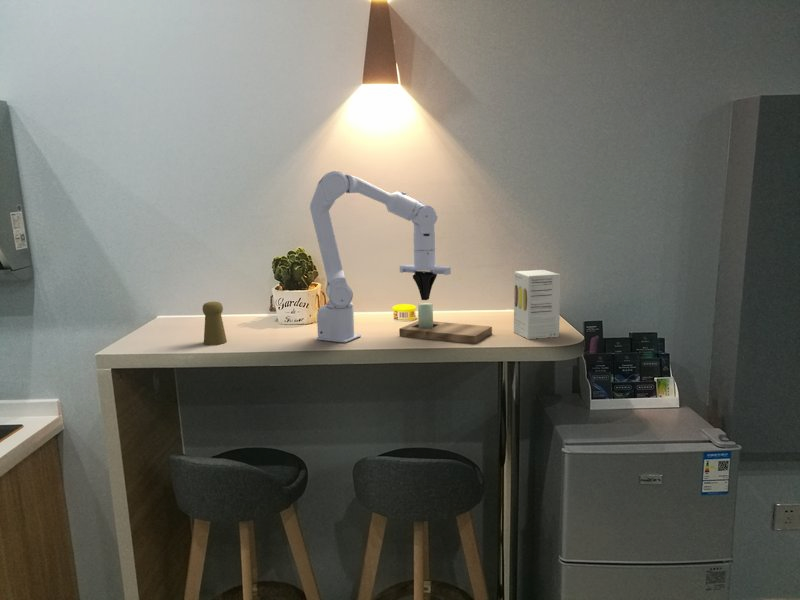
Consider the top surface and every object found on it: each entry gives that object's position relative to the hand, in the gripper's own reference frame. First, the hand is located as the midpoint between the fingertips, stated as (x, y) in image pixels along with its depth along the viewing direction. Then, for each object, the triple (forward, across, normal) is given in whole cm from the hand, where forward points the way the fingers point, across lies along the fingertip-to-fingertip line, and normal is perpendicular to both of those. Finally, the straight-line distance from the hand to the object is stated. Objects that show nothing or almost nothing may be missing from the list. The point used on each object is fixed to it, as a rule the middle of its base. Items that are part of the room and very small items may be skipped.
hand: (425, 299), depth 175 cm
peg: (+9, 0, 0) cm, 9 cm away
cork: (+10, +47, +32) cm, 58 cm away
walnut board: (+9, -6, 0) cm, 11 cm away
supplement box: (+10, -28, -10) cm, 31 cm away
